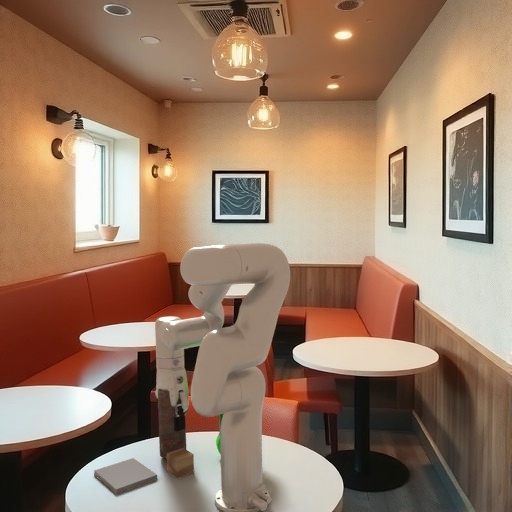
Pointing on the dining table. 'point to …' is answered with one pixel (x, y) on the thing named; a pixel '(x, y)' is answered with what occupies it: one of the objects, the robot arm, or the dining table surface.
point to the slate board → (125, 475)
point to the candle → (168, 426)
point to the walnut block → (180, 463)
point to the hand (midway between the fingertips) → (172, 425)
